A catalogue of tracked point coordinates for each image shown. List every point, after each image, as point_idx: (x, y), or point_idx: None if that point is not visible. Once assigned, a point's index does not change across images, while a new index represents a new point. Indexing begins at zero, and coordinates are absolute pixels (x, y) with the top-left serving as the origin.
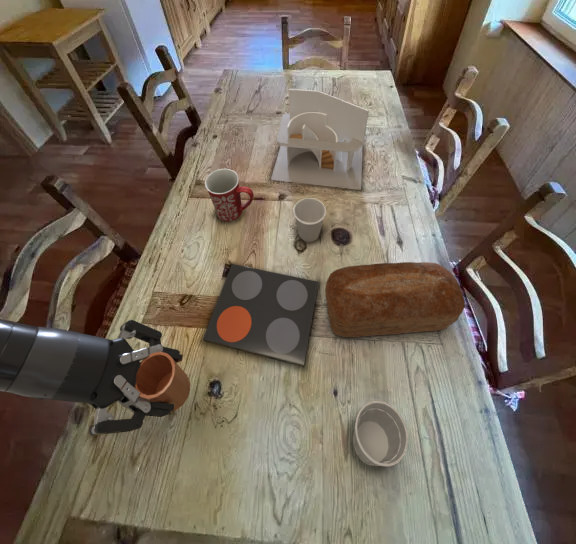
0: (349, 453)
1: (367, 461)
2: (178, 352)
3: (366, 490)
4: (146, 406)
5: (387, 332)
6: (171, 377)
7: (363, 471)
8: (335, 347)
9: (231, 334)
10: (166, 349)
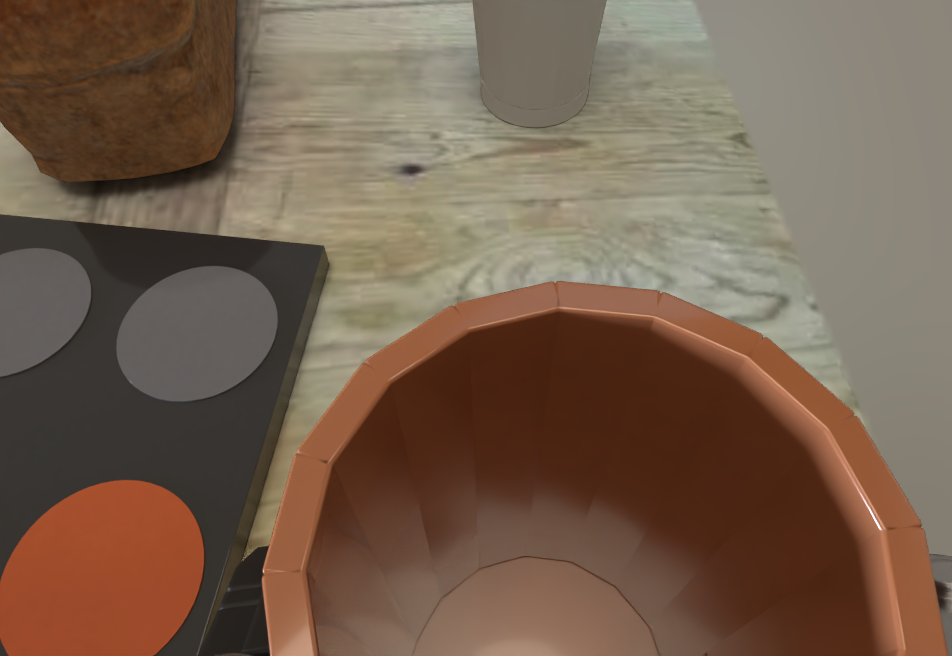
0: (569, 135)
1: (599, 26)
2: (266, 552)
3: (643, 102)
4: (948, 583)
5: (229, 2)
6: (591, 298)
7: (604, 107)
8: (264, 171)
9: (162, 578)
10: (225, 648)
